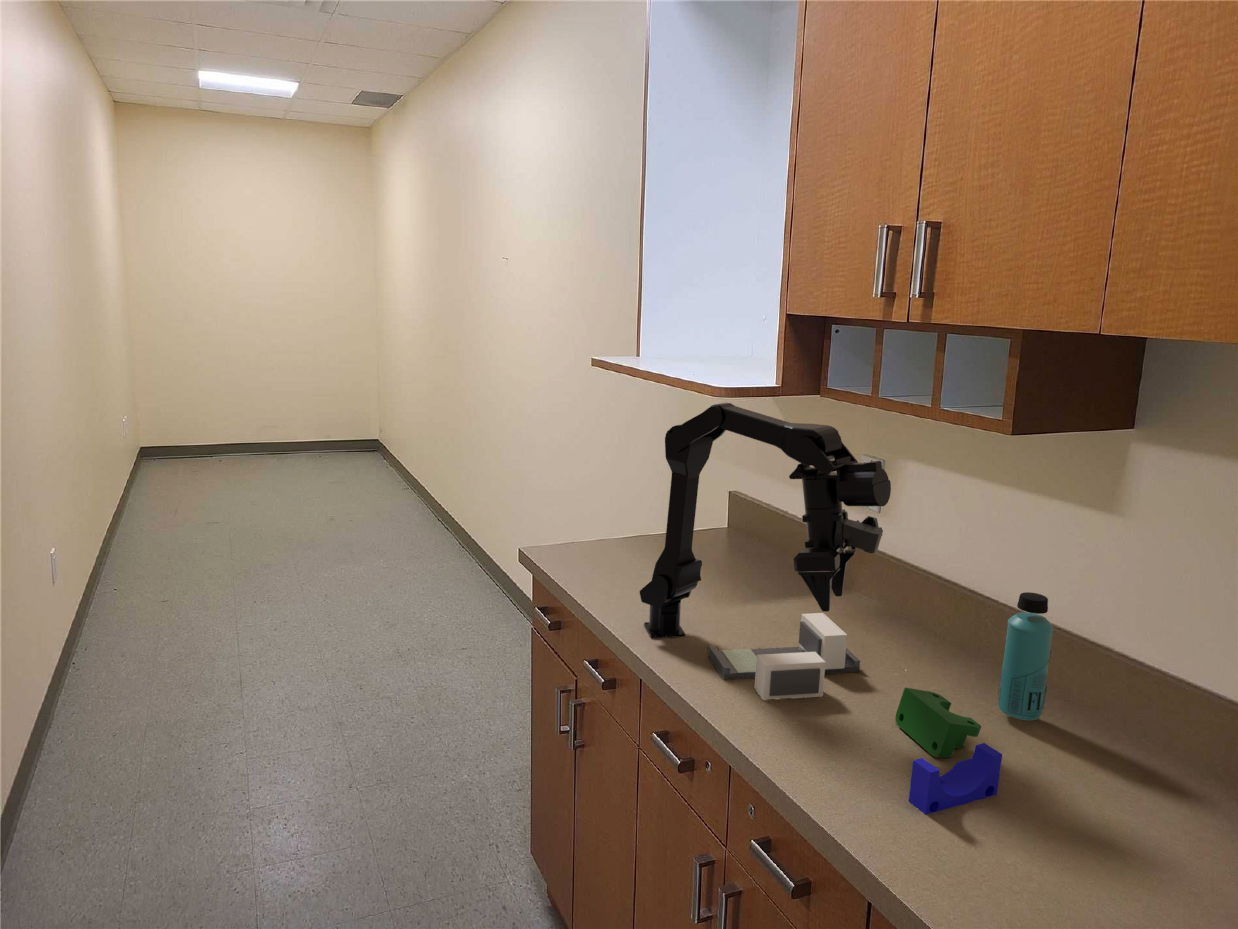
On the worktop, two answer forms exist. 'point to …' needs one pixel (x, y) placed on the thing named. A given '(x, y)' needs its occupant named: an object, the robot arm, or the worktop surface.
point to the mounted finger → (823, 639)
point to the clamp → (933, 722)
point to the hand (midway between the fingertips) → (832, 603)
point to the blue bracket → (955, 781)
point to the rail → (744, 661)
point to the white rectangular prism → (789, 675)
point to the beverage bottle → (1026, 659)
